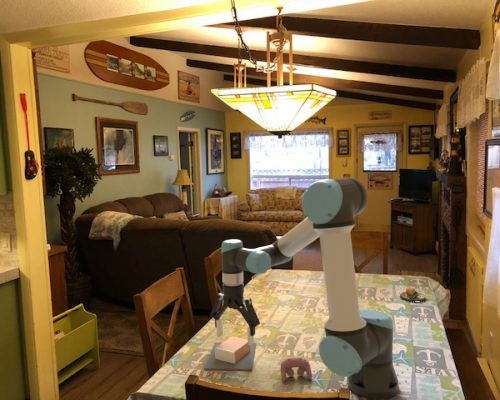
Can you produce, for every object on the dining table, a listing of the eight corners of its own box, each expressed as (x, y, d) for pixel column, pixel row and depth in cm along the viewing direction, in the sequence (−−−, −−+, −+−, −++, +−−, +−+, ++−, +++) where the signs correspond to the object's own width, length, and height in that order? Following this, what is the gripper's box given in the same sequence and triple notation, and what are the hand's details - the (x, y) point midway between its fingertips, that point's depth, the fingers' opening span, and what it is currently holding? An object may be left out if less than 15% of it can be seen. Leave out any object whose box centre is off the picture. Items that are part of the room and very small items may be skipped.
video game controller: (310, 379, 136) (308, 356, 139) (313, 380, 132) (310, 356, 135) (280, 381, 136) (278, 358, 138) (282, 382, 132) (280, 358, 134)
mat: (251, 370, 140) (251, 368, 140) (204, 369, 142) (204, 368, 141) (256, 344, 160) (256, 342, 160) (214, 343, 161) (214, 342, 161)
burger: (429, 302, 200) (429, 287, 199) (404, 303, 200) (404, 288, 200) (419, 294, 212) (420, 280, 211) (396, 295, 212) (396, 280, 212)
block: (231, 336, 157) (214, 347, 148) (250, 340, 153) (233, 352, 144) (232, 346, 157) (215, 358, 148) (250, 350, 153) (234, 363, 144)
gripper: (268, 284, 147) (269, 343, 149) (211, 276, 160) (213, 329, 162) (257, 290, 140) (259, 351, 142) (199, 281, 153) (201, 336, 156)
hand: (235, 340), depth 152 cm, fingers open, 13 cm apart
